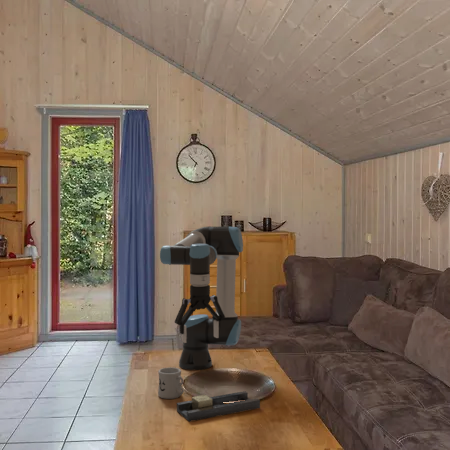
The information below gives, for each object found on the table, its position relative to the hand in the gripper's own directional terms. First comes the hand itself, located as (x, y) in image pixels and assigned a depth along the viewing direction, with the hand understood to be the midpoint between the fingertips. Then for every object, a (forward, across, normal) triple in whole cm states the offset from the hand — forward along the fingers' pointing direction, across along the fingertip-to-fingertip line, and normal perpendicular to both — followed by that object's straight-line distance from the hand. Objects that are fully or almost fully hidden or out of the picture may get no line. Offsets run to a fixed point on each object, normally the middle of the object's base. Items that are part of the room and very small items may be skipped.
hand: (200, 339), depth 216 cm
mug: (+24, -9, +7) cm, 26 cm away
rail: (+23, +1, -13) cm, 26 cm away
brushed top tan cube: (+23, -6, -13) cm, 27 cm away
